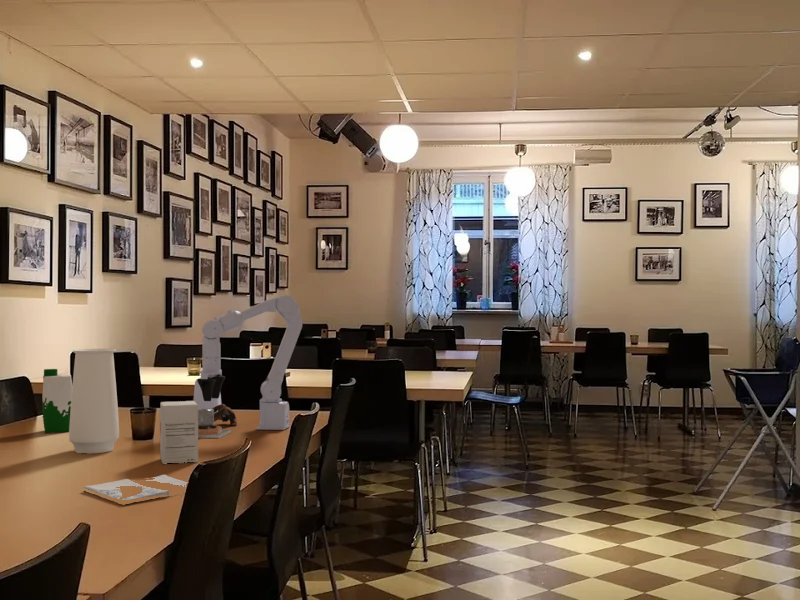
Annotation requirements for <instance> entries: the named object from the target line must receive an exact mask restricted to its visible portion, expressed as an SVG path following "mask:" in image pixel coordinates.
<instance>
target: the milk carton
mask: <svg viewBox="0 0 800 600" xmlns="http://www.w3.org/2000/svg"><path fill="white" fill-rule="evenodd" d="M42 378H43V379H42V380H43V381H42V383H43V384H42V399H41V400H42V402H41V403H42V422H43V428H44V434H53V433H52V432H59V433H69V426H70V411H71V398H72V386H73V379H72V375H71V374H62V373H60V374H58V369H57V368H44V369H43V375H42Z"/></svg>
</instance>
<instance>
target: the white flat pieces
mask: <svg viewBox="0 0 800 600" xmlns="http://www.w3.org/2000/svg"><path fill="white" fill-rule="evenodd" d="M152 478H155V479H153V480H146V481H157V482H160V483H170V484H173V485H179V486H180V485H182V486H183V487H184V485H185V487H186V484H187V483H188V482H187V481H184V480H181V479H178V478H177V479H176V478H174V477H172V476H169V475H167V474H161V475H157V476H154V477H152ZM133 481H134V480H131V479H129V478H123V479H119V480H114V481H107V482H105V483H104V482H103V483H99V484H91V485H83V488H84V489H88V490H91V491H94V492H96V493H99V494H102V495H105V496H108V497H112V498H117V499H120V497H122V492H121V490H120V488H116V487H120V486H136V487H142V489H143V490H142V492H141V493H140V494H137V495H134V496H130V497H127V498H123V499H122V500H132V499H138V498H144V497H153V496H158V495H169V493H170V492H169V491H168V490H161V489H156V488H151V487H146V486H143V485H140V484H138V483H135V482H133Z"/></svg>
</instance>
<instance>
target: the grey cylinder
mask: <svg viewBox="0 0 800 600" xmlns="http://www.w3.org/2000/svg"><path fill="white" fill-rule="evenodd" d="M214 425H215V421H214V409H199V410H198V429H212V428H214Z"/></svg>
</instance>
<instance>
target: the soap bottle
mask: <svg viewBox="0 0 800 600" xmlns="http://www.w3.org/2000/svg"><path fill="white" fill-rule="evenodd" d="M199 360H200V361H202V357H201V358H199ZM200 371H202V369H201V370H200ZM198 379H201V377H198ZM193 401H194V402H196V404H197V405H198V410H199V409H212V408H214V407H215V406H217V405H220V404H222V395H221V393H220V395H219V398H218V399H217V398H212V399H211V401H204V399H203V395H202V391H201V388H200V385H199V384H198V382H197V379H196V380H195V381H194V391H193ZM217 412H218V410H217ZM215 413H216V412H215Z"/></svg>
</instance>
